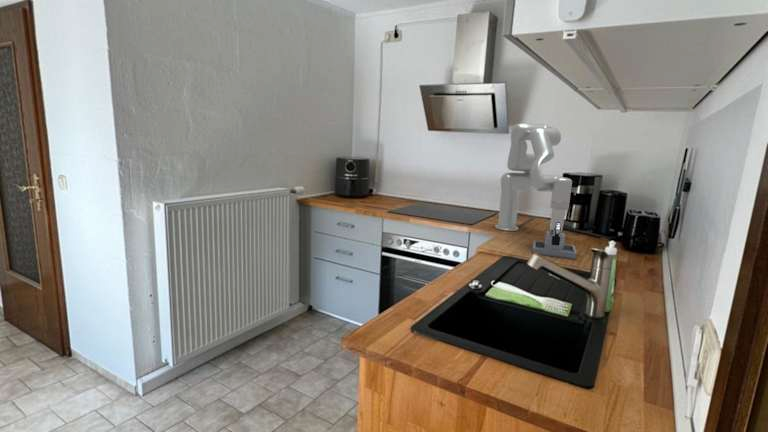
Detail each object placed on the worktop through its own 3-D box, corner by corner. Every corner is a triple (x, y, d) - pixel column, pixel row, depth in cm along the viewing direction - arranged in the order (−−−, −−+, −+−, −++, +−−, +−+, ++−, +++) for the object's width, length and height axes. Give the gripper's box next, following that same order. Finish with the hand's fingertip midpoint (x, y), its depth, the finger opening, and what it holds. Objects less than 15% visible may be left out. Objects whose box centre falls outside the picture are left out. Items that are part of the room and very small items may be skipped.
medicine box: (562, 251, 188) (564, 233, 186) (562, 253, 184) (565, 235, 182) (544, 248, 191) (546, 230, 189) (544, 251, 187) (546, 232, 185)
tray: (532, 246, 197) (533, 240, 196) (573, 251, 191) (574, 245, 190) (532, 254, 184) (533, 248, 183) (576, 259, 178) (577, 253, 177)
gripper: (549, 201, 192) (545, 236, 196) (551, 207, 176) (546, 246, 180) (567, 203, 190) (562, 238, 193) (570, 209, 174) (564, 248, 177)
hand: (554, 242), depth 186 cm, fingers open, 9 cm apart
